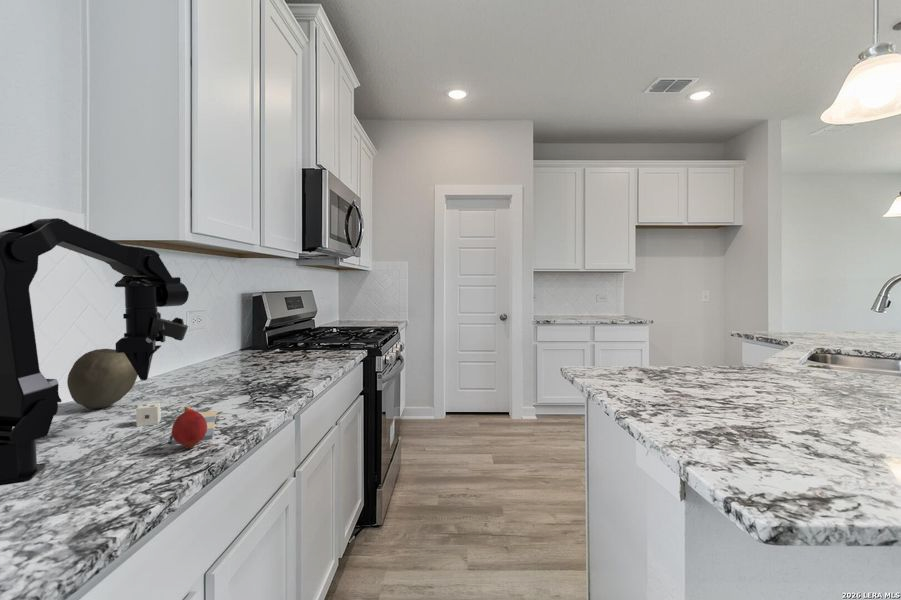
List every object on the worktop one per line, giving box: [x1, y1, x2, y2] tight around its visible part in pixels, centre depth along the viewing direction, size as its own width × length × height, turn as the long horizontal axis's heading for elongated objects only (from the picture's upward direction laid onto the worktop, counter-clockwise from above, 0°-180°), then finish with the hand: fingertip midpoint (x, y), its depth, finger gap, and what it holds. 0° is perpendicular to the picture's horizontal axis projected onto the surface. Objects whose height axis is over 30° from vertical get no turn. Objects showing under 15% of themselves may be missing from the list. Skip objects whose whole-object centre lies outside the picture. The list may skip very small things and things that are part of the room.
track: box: [171, 410, 217, 445], centre depth 99 cm, size 20×7×1 cm, turn 25°
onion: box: [171, 406, 207, 450], centre depth 86 cm, size 6×6×8 cm
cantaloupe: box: [66, 348, 139, 410], centre depth 117 cm, size 14×14×15 cm
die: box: [135, 402, 162, 427], centre depth 103 cm, size 4×4×4 cm
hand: (144, 379), depth 98 cm, fingers closed
